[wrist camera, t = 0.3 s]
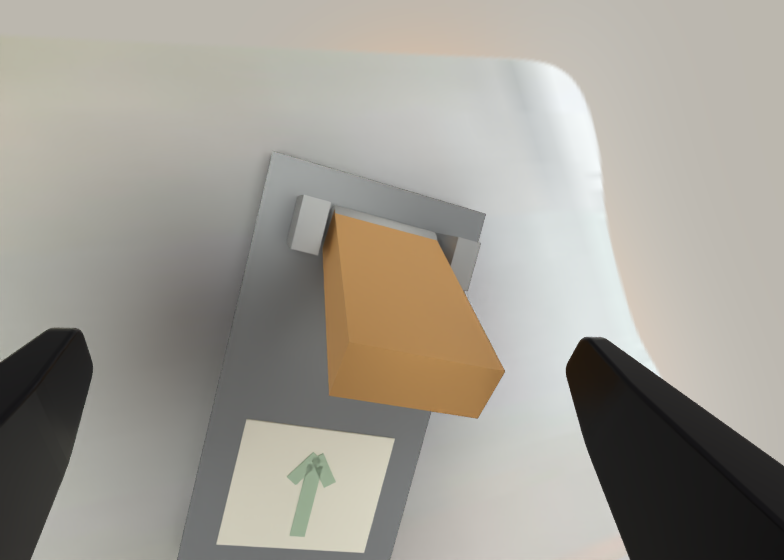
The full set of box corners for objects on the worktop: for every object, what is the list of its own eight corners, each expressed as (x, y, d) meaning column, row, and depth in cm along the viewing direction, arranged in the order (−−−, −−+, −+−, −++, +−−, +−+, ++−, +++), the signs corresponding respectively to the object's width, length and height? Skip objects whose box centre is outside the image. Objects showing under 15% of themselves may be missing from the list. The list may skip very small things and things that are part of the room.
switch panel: (373, 560, 26) (398, 645, 21) (179, 550, 23) (156, 645, 18) (468, 213, 24) (521, 215, 19) (271, 155, 21) (274, 141, 16)
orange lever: (414, 262, 22) (476, 421, 14) (321, 239, 21) (328, 398, 12) (430, 224, 21) (506, 368, 13) (334, 197, 20) (350, 338, 12)
